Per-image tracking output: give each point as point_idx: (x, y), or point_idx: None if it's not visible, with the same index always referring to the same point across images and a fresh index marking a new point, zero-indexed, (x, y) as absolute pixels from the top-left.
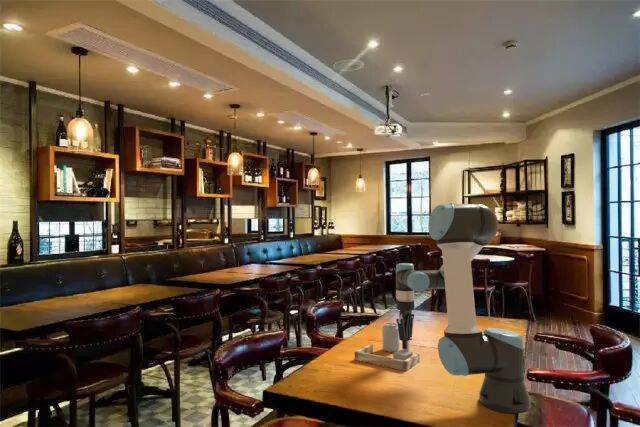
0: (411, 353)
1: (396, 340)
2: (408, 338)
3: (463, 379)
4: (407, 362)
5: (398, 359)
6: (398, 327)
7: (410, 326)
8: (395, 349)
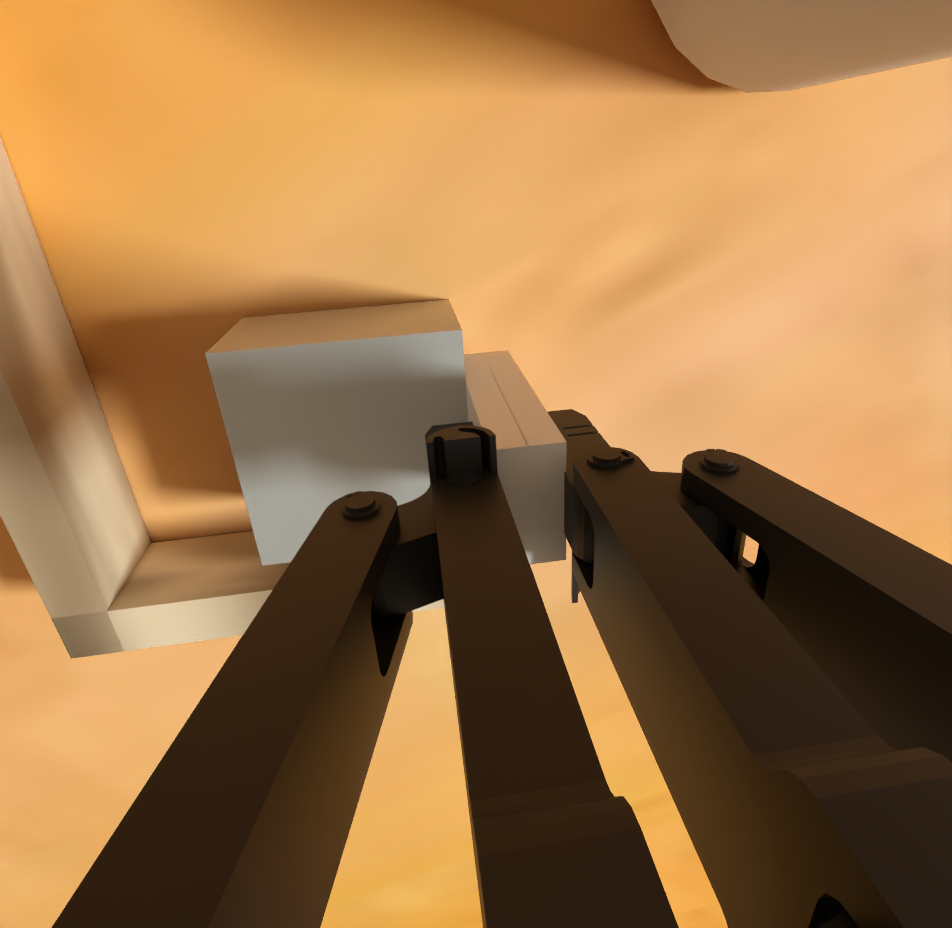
0: None
1: (836, 51)
2: (573, 566)
3: (343, 902)
4: (117, 644)
5: (69, 540)
6: (129, 840)
7: (880, 725)
8: (711, 69)
